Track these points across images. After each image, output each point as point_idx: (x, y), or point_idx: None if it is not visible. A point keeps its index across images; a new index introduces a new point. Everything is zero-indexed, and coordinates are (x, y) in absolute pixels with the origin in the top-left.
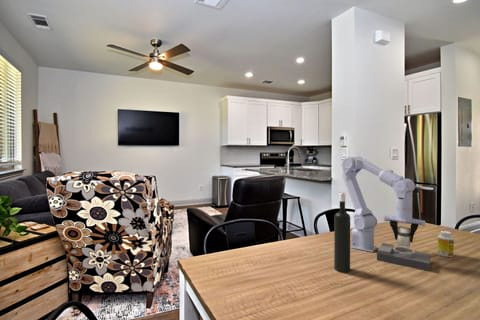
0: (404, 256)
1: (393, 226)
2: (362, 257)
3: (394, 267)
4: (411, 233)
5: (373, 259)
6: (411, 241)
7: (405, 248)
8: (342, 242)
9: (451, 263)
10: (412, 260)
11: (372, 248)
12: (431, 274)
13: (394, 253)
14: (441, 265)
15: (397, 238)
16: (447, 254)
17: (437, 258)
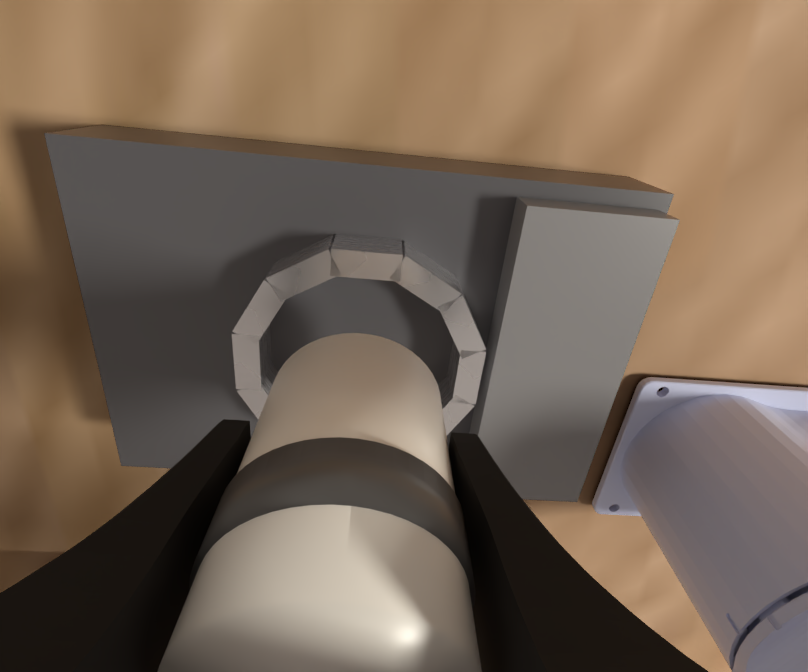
0: (346, 235)
1: (622, 662)
2: (782, 173)
3: (452, 26)
4: (150, 536)
5: (664, 175)
6: (224, 425)
7: None
8: None
9: (8, 449)
10: (248, 152)
11: (645, 435)
12: (64, 31)
13: (459, 285)
14: (57, 364)
15: (447, 446)
16: None
17: (123, 501)
